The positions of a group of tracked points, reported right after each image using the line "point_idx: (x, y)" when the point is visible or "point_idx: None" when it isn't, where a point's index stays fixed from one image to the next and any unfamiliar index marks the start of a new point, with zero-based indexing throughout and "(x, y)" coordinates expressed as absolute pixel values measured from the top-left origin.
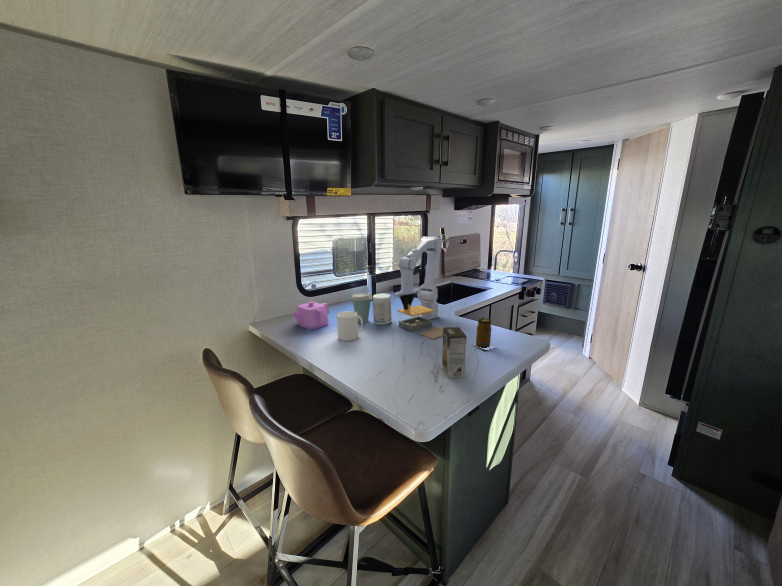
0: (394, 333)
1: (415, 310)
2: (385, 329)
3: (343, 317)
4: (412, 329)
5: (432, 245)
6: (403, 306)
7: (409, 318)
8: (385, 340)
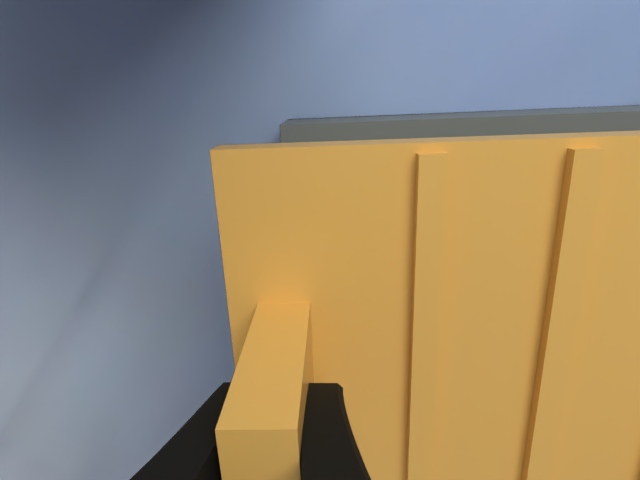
0: (123, 273)
1: (511, 387)
2: (87, 110)
3: None
4: None
5: None
6: (191, 427)
7: (498, 119)
8: None
